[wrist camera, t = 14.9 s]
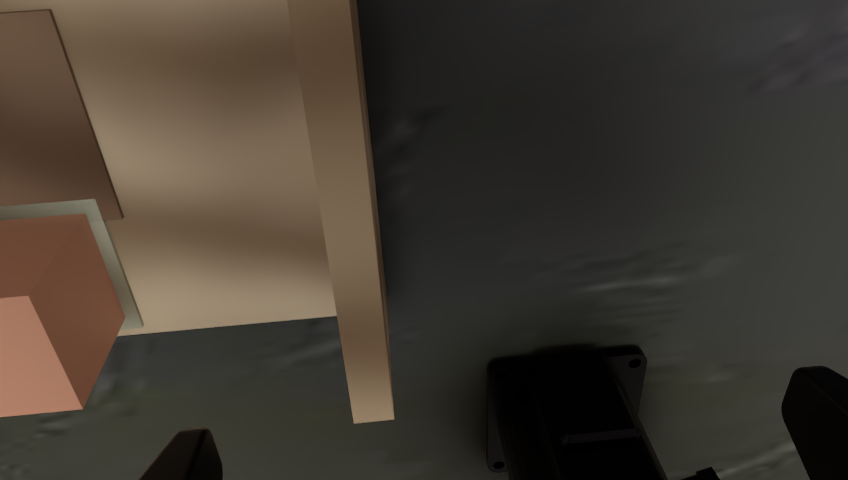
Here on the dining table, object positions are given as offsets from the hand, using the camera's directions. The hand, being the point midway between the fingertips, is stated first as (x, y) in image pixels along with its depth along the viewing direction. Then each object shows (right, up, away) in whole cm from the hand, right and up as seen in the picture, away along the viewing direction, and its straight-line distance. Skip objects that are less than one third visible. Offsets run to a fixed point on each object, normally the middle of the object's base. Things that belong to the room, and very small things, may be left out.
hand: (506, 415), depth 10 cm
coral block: (-14, +2, +11) cm, 18 cm away
